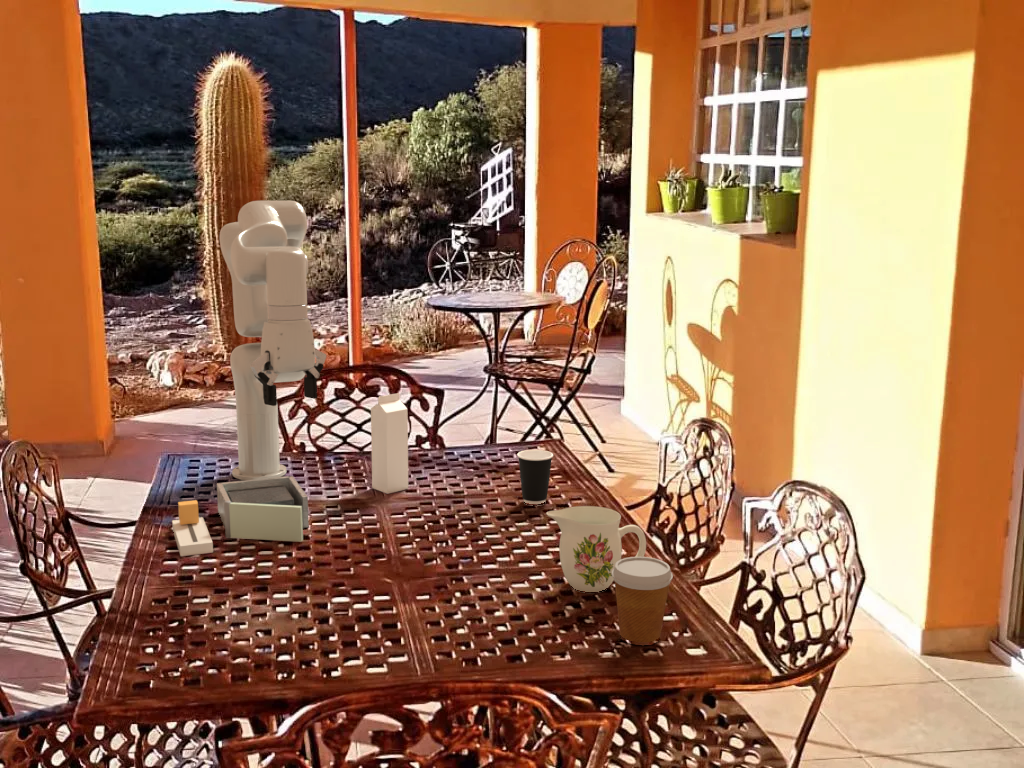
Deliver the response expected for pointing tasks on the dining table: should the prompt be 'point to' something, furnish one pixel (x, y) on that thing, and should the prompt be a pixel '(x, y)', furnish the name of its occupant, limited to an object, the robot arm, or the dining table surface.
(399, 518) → the dining table surface
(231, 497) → the grey open tray
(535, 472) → the dixie cup
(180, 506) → the fader knob
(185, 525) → the fader panel
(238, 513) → the door
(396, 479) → the milk
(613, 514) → the pitcher
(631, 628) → the disposable coffee cup
